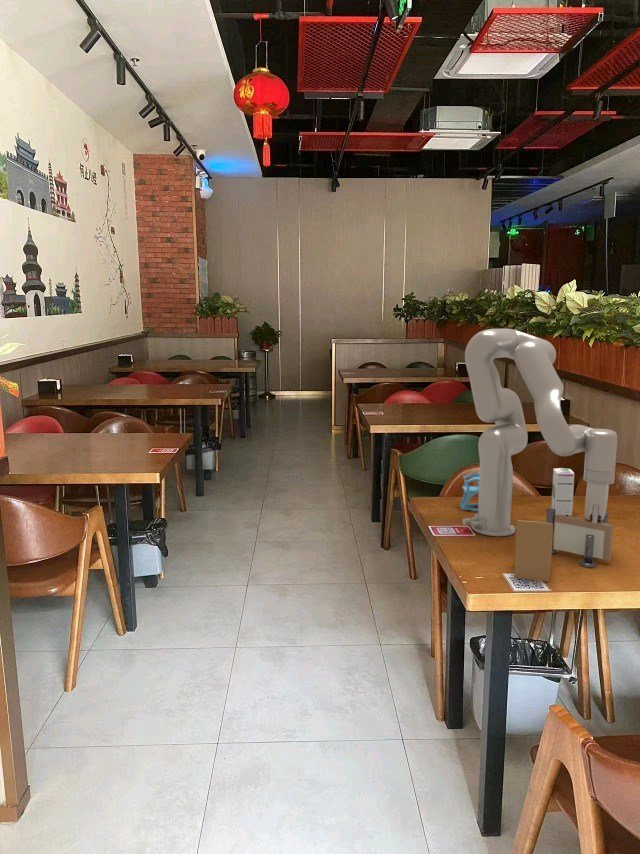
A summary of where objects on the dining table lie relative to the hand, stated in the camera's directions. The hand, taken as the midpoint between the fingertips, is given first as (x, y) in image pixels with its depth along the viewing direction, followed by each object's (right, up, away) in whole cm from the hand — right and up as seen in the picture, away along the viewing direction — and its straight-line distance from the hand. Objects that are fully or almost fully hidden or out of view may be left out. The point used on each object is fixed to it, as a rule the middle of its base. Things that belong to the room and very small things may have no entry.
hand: (594, 541), depth 175 cm
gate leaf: (-4, -3, -2) cm, 5 cm away
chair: (-23, +3, +42) cm, 48 cm away
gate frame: (-2, -4, 0) cm, 4 cm away
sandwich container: (-20, -6, -8) cm, 22 cm away
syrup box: (+5, +3, +37) cm, 38 cm away
